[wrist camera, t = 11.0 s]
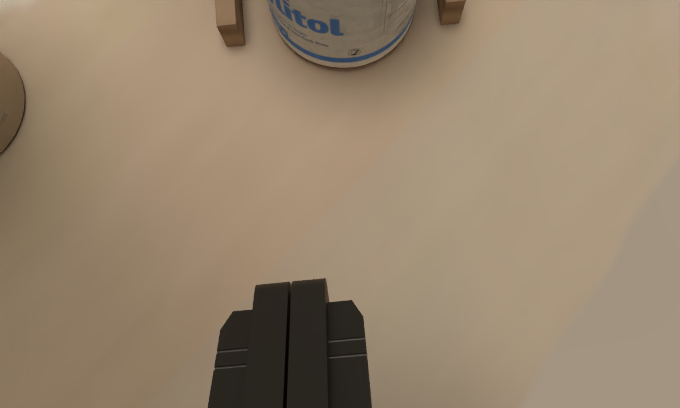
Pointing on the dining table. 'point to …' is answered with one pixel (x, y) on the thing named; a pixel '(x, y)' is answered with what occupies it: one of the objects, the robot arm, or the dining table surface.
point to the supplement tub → (342, 28)
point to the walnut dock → (233, 27)
